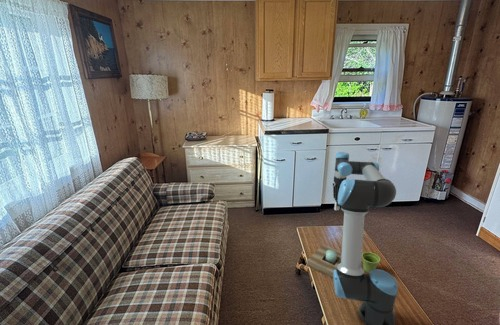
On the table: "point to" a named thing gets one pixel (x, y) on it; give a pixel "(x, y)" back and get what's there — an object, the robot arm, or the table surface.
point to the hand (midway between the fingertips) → (336, 209)
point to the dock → (323, 261)
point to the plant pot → (370, 261)
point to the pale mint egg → (331, 256)
